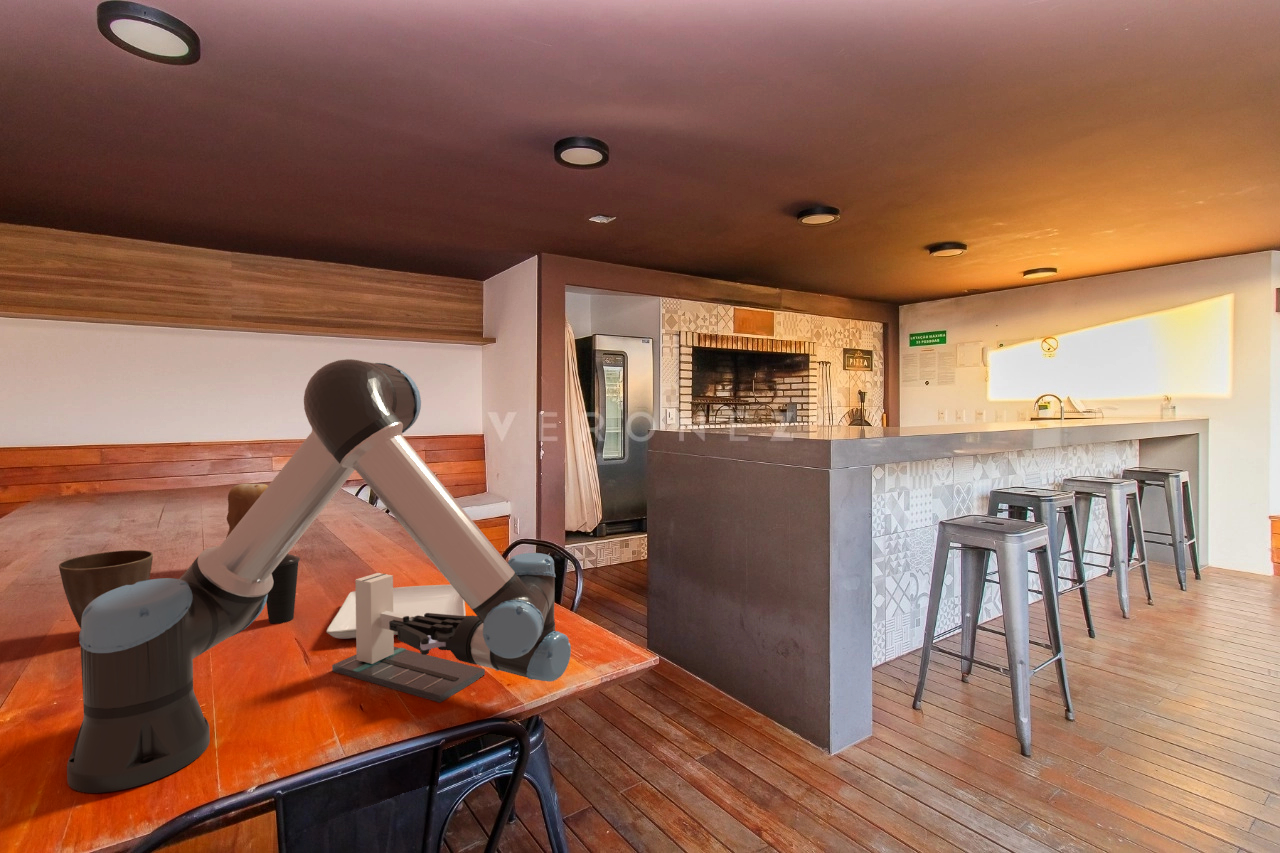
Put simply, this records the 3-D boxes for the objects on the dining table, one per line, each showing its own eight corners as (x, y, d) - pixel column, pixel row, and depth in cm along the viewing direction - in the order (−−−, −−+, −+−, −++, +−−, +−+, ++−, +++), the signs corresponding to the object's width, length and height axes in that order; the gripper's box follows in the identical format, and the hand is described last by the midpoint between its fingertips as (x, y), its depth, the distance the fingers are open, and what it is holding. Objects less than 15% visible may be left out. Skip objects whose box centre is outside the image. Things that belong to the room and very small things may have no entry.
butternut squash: (276, 559, 189) (274, 479, 188) (284, 568, 179) (282, 483, 178) (222, 566, 180) (220, 482, 179) (227, 576, 170) (225, 487, 169)
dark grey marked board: (484, 675, 110) (484, 668, 110) (440, 702, 100) (439, 694, 100) (381, 649, 121) (381, 642, 121) (332, 671, 111) (332, 664, 111)
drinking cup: (282, 627, 132) (281, 536, 132) (253, 624, 134) (251, 534, 133) (308, 615, 140) (307, 529, 139) (280, 612, 141) (278, 527, 141)
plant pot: (172, 624, 134) (170, 552, 133) (95, 651, 119) (93, 571, 119) (122, 618, 138) (120, 548, 137) (42, 643, 123) (39, 565, 123)
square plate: (324, 649, 122) (324, 630, 122) (350, 605, 148) (350, 589, 148) (465, 636, 129) (465, 618, 129) (466, 596, 155) (466, 581, 155)
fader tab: (393, 653, 115) (392, 574, 115) (371, 663, 111) (370, 582, 110) (378, 649, 117) (377, 572, 116) (356, 659, 113) (355, 579, 112)
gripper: (456, 679, 97) (353, 652, 107) (508, 649, 108) (411, 627, 119) (456, 632, 96) (353, 610, 107) (508, 607, 108) (410, 589, 118)
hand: (383, 619), depth 113 cm, fingers closed
